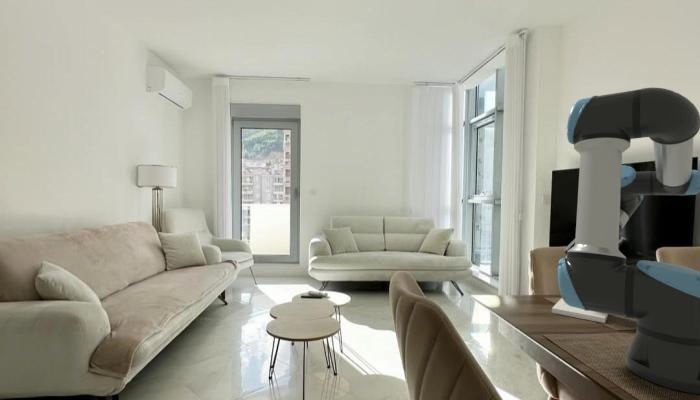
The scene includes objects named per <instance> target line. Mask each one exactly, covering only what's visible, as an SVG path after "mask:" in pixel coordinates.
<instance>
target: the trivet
mask: <svg viewBox="0 0 700 400" xmlns="http://www.w3.org/2000/svg"><path fill="white" fill-rule="evenodd" d="M551 314H556V315H562V316H566V317H571V318H577V319H581V320H585V321H586V320H588V321H593V322H598V323H601V324H606V321H607V319H608V317H609V314H604V313H599V312H594V311H585V310H584V309H580V308H575V307H571V306H569V305H567V304H566V303H565V302H564V300H563V299H562V297H561V298H560V299H559V300H558V301H557V302H556V303H555V304H554V306H552V308H551Z"/></svg>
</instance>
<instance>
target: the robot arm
mask: <svg viewBox="0 0 700 400" xmlns="http://www.w3.org/2000/svg"><path fill="white" fill-rule="evenodd" d="M566 129H567V131H566V132H567V133H566V137H567V141H568V143H570V144H571V145H573V148H574V149H573V150H575V151H576V152H577V153H579V155H580V156H579V157H580V158H579V171H578V172H579V173H578V175H579V176H578V187H577V188H578V189H577V191H578V192H577V205H576V206H577V207H576V223H575V224H576V226H575V238H574V239H573V240H572V241H571V242H570V243H569V244H568V245H567V246H566V247H565V248H564V249H563V252H564V254H565V255H566V256H565V257H563V258H560V259H559V261H558V266H557V282H558V289H559V293H560V296H561V298H562V299H563V300H564V302H565V303H566V304H567V305H569V306H571V307H575V308H580V309H584V310H585V311H594V312H599V313H604V314H608V315H611V316H616V317H622V318H626V319H633V320H636V332H635V334H634V337H633V338H632V341H631V342H630V345H629V347H628V349H627V351H626V354H625V355H626V356H625V365H626V366H625V367H627V368H628V370H630V371H631V372H632V373H633V374H635V375H636V376H638V377H640V378H642V379H644V380H645V381H648V382H651V383H653V384H656V385H659V386H662V387H665V388H668V389H671V390H674V391H675V390H676V391H679V392H683V393H689V394H694V395H700V271H699V270H695V269H692V268H690V267H686V266H681V265H676V264H674V263H667V262H663V261H656V260H653V261H652V260H645V259H643V260H642V259H641V260H638V261H637V263H636V266H634V265H629V264H628V265H627V257H626V256H625V254H623V253H622V252H621V251H620V246H621V245H622V244H623V243H624V240H623V237H621V235H620V233H621V232H622V229H623V228H624V227H625V225H626V224H627V222H628V221H629V220H630V218H631V217H632V215H633V214H634V213H635V211H636V210H637V208H638V207H640V205H641V204H642V201H643V199H644V196H681V197H682V196H691V195H692V196H695V195H698V194H699V193H700V171H699V170H698V169H697V170H696V169H693V154H694V138H695V137H696V135H697V134H698V133H699V131H700V112H699V109H698V108H697V107H696V106H695V104H694V103H693V102H691V101H690V100H689V99H688V97H685V96H684V95H683V94H680V93H679V92H676V91H673V90H671V89H667V88H663V87H645V88H644V87H643V88H641V89H634V90H627V91H621V92H615V93H609V94H603V95H602V94H601V95H593V96H591V97H585V98H581V99H578V100H577V101H576V102H574V104H573V105H572V106H571V109H570V112H569V114H568V119H567V125H566ZM642 138H649V139H650V140H651V141H652V142H653V144H652V145H653V153H654V154H653V155H654V164H655V165H654V166H655V171H653V170H652V171H651V170H650V171H649V170H648V171H636V170H635V168H633V167H632V166H630V165H629V166H628V165H626V164H623V153H624V152H625V151H626V150H628V149H630V147H631V140H635V139H642Z"/></svg>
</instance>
